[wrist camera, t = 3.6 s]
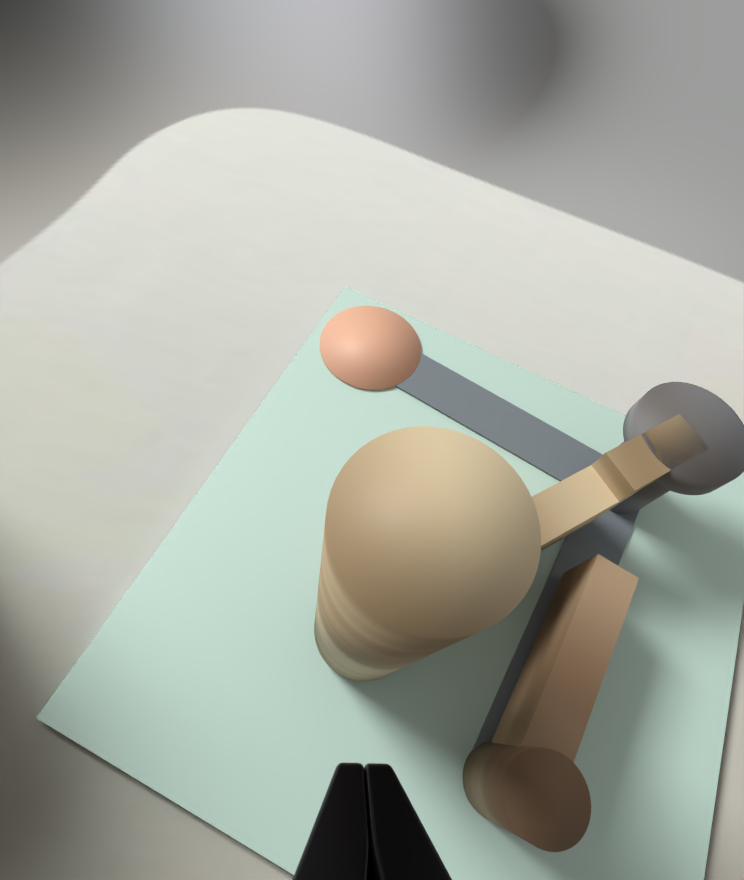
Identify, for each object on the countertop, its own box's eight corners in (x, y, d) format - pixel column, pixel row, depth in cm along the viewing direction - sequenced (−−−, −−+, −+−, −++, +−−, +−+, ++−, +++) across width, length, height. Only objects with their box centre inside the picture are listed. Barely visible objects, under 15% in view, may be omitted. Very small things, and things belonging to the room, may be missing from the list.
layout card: (663, 1096, 12) (674, 1108, 12) (41, 717, 14) (34, 717, 14) (755, 481, 20) (763, 477, 19) (344, 291, 22) (345, 284, 21)
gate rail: (625, 428, 19) (870, 210, 11) (685, 504, 18) (1010, 325, 10) (294, 599, 15) (281, 463, 7) (345, 708, 14) (402, 702, 6)
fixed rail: (599, 450, 19) (656, 400, 16) (651, 480, 19) (719, 434, 16) (447, 791, 14) (488, 813, 11) (515, 838, 14) (577, 876, 11)
